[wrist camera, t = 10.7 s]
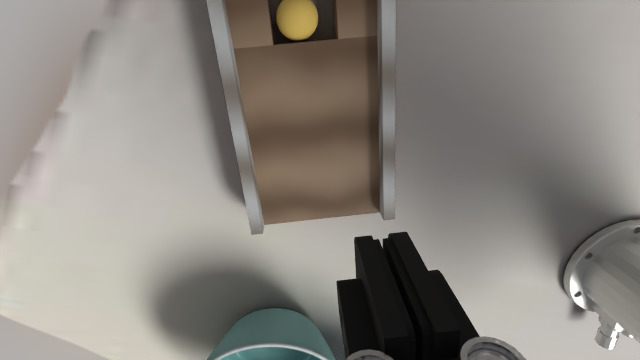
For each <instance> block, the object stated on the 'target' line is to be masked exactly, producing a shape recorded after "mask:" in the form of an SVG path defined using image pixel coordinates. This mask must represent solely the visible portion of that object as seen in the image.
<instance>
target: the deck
mask: <svg viewBox="0 0 640 360" xmlns="http://www.w3.org/2000/svg"><path fill="white" fill-rule="evenodd" d="M206 2H207V7H208V12H209V17H210V23H211V28H212V33H213V38H214V43H215V48H216V53H217V59H218V64H219V69H220V74H221V79H222V84H223V90H224V95H225V100H226V105H227V110H228V115H229V120H230V126H231V131H232V136H233V141H234V146H235V151H236V156H237V162H238V167H239V172H240V177H241V182H242V187H243V193H244V198H245V203H246V208H247V213H248V218H249V223H250V229H251V234H252V235H253V234H262V233H263V229H264V225H267V224H276V223H285V222H294V221H304V220H313V219H322V218H331V217H340V216H350V215H359V214H368V213H377V212H380V213H381V215H382V218H383V220H390V219H395V59H396V0H333V15H334V32H335V38H334V39H323V40H312V41H302V42H291V43H280V44H275V42H274V34H273V26H272V18H271V11H270V3H269V0H206Z"/></svg>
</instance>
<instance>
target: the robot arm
mask: <svg viewBox="0 0 640 360" xmlns="http://www.w3.org/2000/svg"><path fill="white" fill-rule="evenodd" d="M354 244H355V263H356V279H349V280H340V281H337V294H338V305H339V314H340V322H341V329H342V336H343V343H344V349H345V356H346V359H345V360H526V359H525V357H524V356H523V355H522V354H521V353H520V352H518V351H517V350H516V349H515V348H514V347H512V346H511V345H509V344H507V343H506V342H504V341H501V340H498V339H496V338H491V337H480V336H479V335H478V333H477V331H476V330H475V328H474V326H473V325H472V323H471V321H470V320H469V318H468V316H467V315H466V313H465V311H464V310H463V308H462V306H461V305H460V303H459V301H458V300H457V298H456V296H455V295H454V293H453V291H452V290H451V288H450V286H449V285H448V283H447V281H446V280H445V278H444V276H443V275H442V273H441V272H440V271H439V270H432V271H428V270H427V268H426V266H425V264H424V262H423V261H422V259H421V257H420V255H419V253H418V251H417V250H416V248H415V246H414V244H413V242H412V241H411V239H410V237H409V235H408V233H407V232H400V233H390V234H389V235H388V238H386V239H383V249H382V246H381V244H380V241H379V239H376V240H373V237H372V236H362V237H355V238H354ZM563 281H564V288H565V291H566V293H567V295H568V296H569V297H570V298H571V300H573V301H574V302H575V303H576V304H577V305H578V306H579V307H581V308H583V309H585V310H589V311H593V312H596V313H598V314H599V322H600V323H601V326H600V327H599V328H598V331H597V334H596V337H595V340H596V342H597V343H598V344H599V345H600V346H602V347H603V348H607V349H613V348H615V346H616V343H617V340H618V338H619V332H620V331H621V333H622V334H624V335H625V336H627V337H634V338H635V339H636V340H637V341H638V342H639V343H640V219H639V220H628V221H624V222H619V223H616V224H614V225H611V226H608V227H606V228H604V229H602V230H601V231H599V232H597V233H595V234H594V235H593V236H591V237H590V238H589V239H587V240H586V241H585V242H584V243H583V244H582V245H581V246H580V247H579V248H578V249H577V250H576V251H575V253H574V254H573V255H572V257H571V259H570V260H569V262H568V264H567V267H566V270H565V272H564V279H563Z"/></svg>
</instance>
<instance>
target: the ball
mask: <svg viewBox="0 0 640 360" xmlns="http://www.w3.org/2000/svg"><path fill="white" fill-rule="evenodd" d="M276 21H277V25H278V27H279V29H280V31H281V32H282V34H283V35H284V36H286V37H287V38H289V39H291V40H294V41H301V40H305V39H307V38H309V37H310V36H311V35H312V34H313V33H314V31H315V30H316V27H317V24H318V13H317V9H316V7H315V5H314V4H313V2H312V1H311V0H283V1H282V2H281V3H280V5H279V7H278V9H277V13H276Z"/></svg>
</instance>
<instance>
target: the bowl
mask: <svg viewBox="0 0 640 360" xmlns="http://www.w3.org/2000/svg"><path fill="white" fill-rule="evenodd" d="M207 360H336V359H335V357H334V355H333V354H332V352H331V350H330V348H329V346H328V345H327V343H326V341H325V339H324V338H323V336H322V334H321V332H320V331H319V329H318V327H317V326H316V325H315V324H314V323H313V322H312V321H311V320H310V319H309V318H307V317H306V316H304V315H302V314H300V313H298V312H295V311H292V310H288V309H281V308H269V309H262V310H258V311H254V312H252V313H249V314H247V315H246V316H244V317H242V318H241V319H239V320H238V321H237V322H236V323H235V324H234V325H233V326H232V327H231V328H230V330H229V331H228V332H227V333H226V335H225V336H224V337H223V339H222V340H221V341H220V343H219V344H218V345H217V346H216V348H215V349H214V351H213V352H212V353H211V355H210V356H209V357H208V359H207Z"/></svg>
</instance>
